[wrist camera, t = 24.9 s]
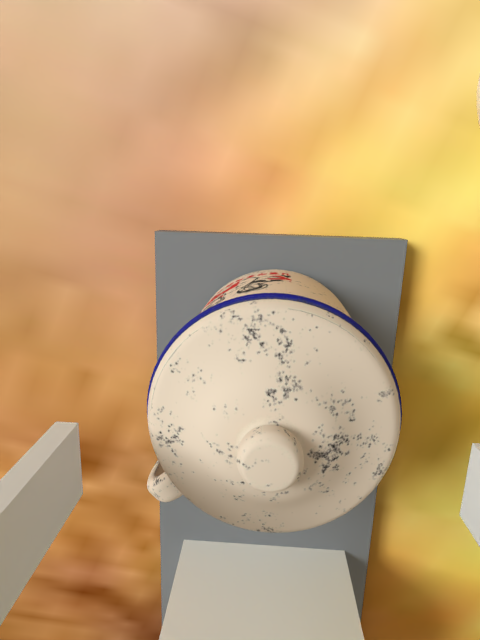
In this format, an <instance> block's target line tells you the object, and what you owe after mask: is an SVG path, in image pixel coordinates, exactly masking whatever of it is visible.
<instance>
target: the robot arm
mask: <svg viewBox="0 0 480 640" xmlns="http://www.w3.org/2000/svg"><path fill="white" fill-rule="evenodd" d="M82 494H83V487H82V472H81V457H80V442H79V427H78V423H72V422H55V423H54V424H53V425H52V426H51V427H50V428H49V430H48V431H47V432H46V433H45V434H44V435H43V436H42V437H41V438H40V439H39V440H38V441H37V442H36V443H35V444H34V445H33V446H32V447H31V448H30V449H29V450H28V451H27V453H26V454H25V455H24V456H23V457H22V458H21V459H20V460H19V461H18V462H17V463H16V464H15V465H14V466H13V467H12V468H11V469H10V470H9V471H8V472H7V473H6V474H5V475H4V477H3V478H2V479H1V480H0V625H1V624H2V622H3V621H4V619H5V617H6V616H7V614H8V613H9V611H10V609H11V608H12V606H13V605H14V603H15V601H16V600H17V598H18V597H19V595H20V593H21V592H22V590H23V589H24V587H25V585H26V584H27V582H28V581H29V579H30V577H31V576H32V574H33V573H34V571H35V569H36V568H37V566H38V565H39V563H40V561H41V560H42V558H43V557H44V555H45V553H46V552H47V550H48V549H49V547H50V545H51V544H52V542H53V541H54V539H55V537H56V536H57V534H58V533H59V531H60V529H61V528H62V526H63V525H64V523H65V521H66V520H67V518H68V517H69V515H70V513H71V512H72V510H73V509H74V507H75V505H76V504H77V502H78V501H79V499H80V497H81V496H82ZM460 517H461V518H462V520H463V521H464V523H465V525H466V526H467V528H468V529H469V531H470V532H471V534H472V536H473V537H474V539H475V540H476V542H477V543H478V545H479V547H480V443H472V448H471V454H470V460H469V465H468V471H467V476H466V482H465V487H464V493H463V499H462V504H461V510H460Z"/></svg>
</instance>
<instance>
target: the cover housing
mask: <svg viewBox="0 0 480 640" xmlns="http://www.w3.org/2000/svg"><path fill="white" fill-rule="evenodd" d="M159 640H364V636H363V632H362V627H361V623H360V618H359V614H358V609H357V605H356V600H355V596H354V591H353V587H352V582H351V578H350V573H349V569H348V564H347V560H346V555H345V551H342V550H327V549H313V548H299V547H284V546H270V545H255V544H241V543H226V542H212V541H197V540H184V541H183V545H182V549H181V553H180V557H179V561H178V565H177V569H176V573H175V577H174V581H173V585H172V589H171V593H170V597H169V601H168V605H167V609H166V613H165V617H164V621H163V625H162V629H161V633H160V637H159Z"/></svg>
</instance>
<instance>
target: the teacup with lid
mask: <svg viewBox="0 0 480 640" xmlns="http://www.w3.org/2000/svg"><path fill="white" fill-rule="evenodd" d="M147 417H148V427H149V433H150V438H151V442H152V445H153V448H154V451H155V453H156V456H157V458H158V461H157V462H156V464H155V465H154V467H153V469H152V471H151V473H150V475H149V478H148V482H147V488H148V491H149V492H150V493H151V494H152V495H153V496H154V497H155V498H156V499H157V500H159V501H161V502H170V501H173V500H175V499H177V498H179V497H180V496H182V495H184V496H185V497H186V498H187V499H188V500H189V501H191V502H192V503H193V504H194V505H195V506H197V507H198V508H200V509H201V510H202V511H204V512H206V513H207V514H209V515H211V516H212V517H214V518H216V519H218V520H221V521H223V522H225V523H228V524H230V525H233V526H236V527H240V528H243V529H248V530H253V531H259V532H269V533H284V532H295V531H302V530H306V529H310V528H314V527H317V526H320V525H323V524H326V523H328V522H331V521H333V520H335V519H337V518H339V517H341V516H342V515H344V514H346V513H347V512H349V511H350V510H352V509H353V508H355V507H356V506H357V505H358V504H359V503H361V502H362V501H363V500H364V499H365V498H366V497H367V496H368V495H369V494H370V493H371V492H372V491H373V490H374V488H375V487H376V486H377V485H378V484H379V482H380V481H381V479H382V478H383V476H384V475H385V473H386V471H387V470H388V468H389V466H390V464H391V462H392V459H393V457H394V454H395V451H396V448H397V444H398V440H399V435H400V429H401V418H402V408H401V397H400V391H399V387H398V383H397V380H396V377H395V374H394V372H393V369H392V367H391V365H390V363H389V361H388V359H387V357H386V355H385V354H384V352H383V351H382V349H381V348H380V346H379V345H378V344H377V342H376V341H375V340H374V339H373V338H372V336H371V335H370V334H369V333H368V332H367V331H366V330H365V329H364V328H363V327H362V326H361V325H359V324H358V323H357V322H355V321H354V320H353V319H352V318H351V317H350V315H349V314H348V312H347V311H346V309H345V308H344V306H343V305H342V303H341V302H340V301H339V300H338V298H337V297H336V296H335V295H334V294H333V293H332V292H331V291H330V290H329V289H327V288H326V287H325V286H324V285H322V284H321V283H319V282H318V281H316V280H314V279H312V278H310V277H308V276H305V275H303V274H300V273H296V272H293V271H287V270H277V269H272V270H261V271H256V272H251V273H248V274H245V275H243V276H240V277H238V278H236V279H234V280H232V281H231V282H229V283H227V284H226V285H225V286H223V287H222V288H221V289H220V290H219V291H217V292H216V293H215V294H214V296H213V297H212V298H211V299H210V300H209V302H208V303H207V304H206V305H205V307H204V308H203V309H202V311H201V312H200V313H199V315H197V316H196V317H194V318H193V319H191V320H190V321H189V322H188V323H187V324H186V325H184V326H183V327H182V328H181V329H180V330H179V331H178V332H177V333H176V334H175V335H174V337H173V338H172V339H171V340H170V342H169V343H168V344H167V346H166V347H165V349H164V351H163V352H162V354H161V355H160V357H159V359H158V362H157V364H156V366H155V368H154V371H153V374H152V377H151V381H150V385H149V389H148V398H147Z"/></svg>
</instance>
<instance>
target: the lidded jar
mask: <svg viewBox="0 0 480 640" xmlns="http://www.w3.org/2000/svg"><path fill="white" fill-rule="evenodd" d="M477 115H478V123H479V127H480V76H479V81H478V87H477Z"/></svg>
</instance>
